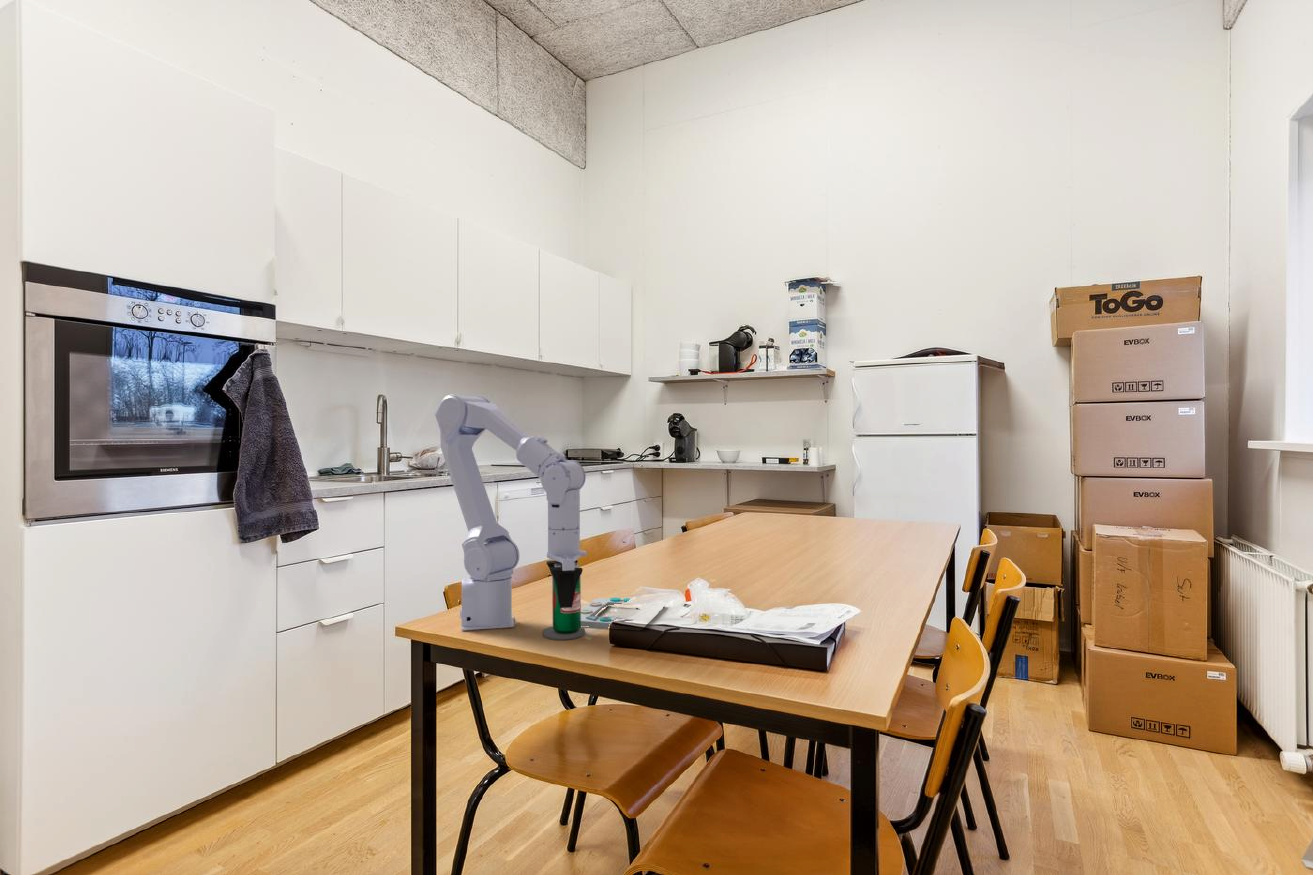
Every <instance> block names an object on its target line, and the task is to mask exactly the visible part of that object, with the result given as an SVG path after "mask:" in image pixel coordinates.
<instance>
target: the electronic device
mask: <svg viewBox="0 0 1313 875" xmlns="http://www.w3.org/2000/svg"><path fill="white" fill-rule="evenodd" d="M630 599H632V598H630V597H629V598H620V597H611V598H605V597H596V598H594V599H593V600H591V601H590V602H589V603H587V604H586V605H585V606H583V607H581V626H589V627H596V628H595V629H607V630H609V629H608V627H609V624H610V623H611V622H612V621H614V620H616V619H623V618H621V617H618V616H617V617H615V618H613V617H611V616H600V617H599V615H598V616H595V615H596V614H597V613H598V612H599V611H600V610H601V609H602V608H604V607H606V606H608V605H614V604H622V603H625V602H627V601H629V600H630ZM589 627H588V628H589Z"/></svg>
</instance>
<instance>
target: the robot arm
mask: <svg viewBox="0 0 1313 875" xmlns="http://www.w3.org/2000/svg"><path fill="white" fill-rule="evenodd" d="M434 415H435V419H436V422H437V425H438V427H439V431H440V432H439V433H440V434H439V435H440V438H439V439H440V449H441V454H442V455H443V456H442V457H443V459H444V462H445V465H446V468H447V471H448V474H449V476H450V480H451V483H452V485H453V488H454V492H455V495H456V497H457V500H458V504H459V507H460V510H461V513H462V516H463V519H464V522H465V526H466V528H467V531H468V533H467V535H466V536H465V538H464V539H463V541H462V543H461V547H462V549H463V564H464V565H463V566H464V569H465V571H466V572H467V574H468V575H469V578H462V579H461V608H460V609H459V618H460V619H461V631H474V630H488V629H489V630H490V629H502V628H503V629H504V628H505V629H507V628H514V627H515V620H514V614H513V613H512V611H513V610H512V608H513V607H512V603H513V602H512V599H513V598H512V595H513V594H512V592H513V590H512V589H513V588H512V586H513V585H512V583H513V582H512V576H513V575H514V570H515V568H516V567H517V566H518V564H519V561H520V550H519V547H518V545H517V544H516V543H515V542H514V540H513V539H512V538H511V536H510V533H509V531H508V529H506V528H505V527H504V526H502V525H501V524H499V523H498V522H497V520H496V517H495V514H494V511H493V507H492V505H491V501H490V497H489V495H488V493H487V490H486V489H487V488H486V487H485V484H484V480H483V476H482V475H481V472H480V469H479V466H478V463H477V460H476V457H475V454H474V451H473V446H474V445H475V443H476V442H477V440H479V438H480V437H481V436H482V435H483V434H484V433H485V431H486V430H487V431H489V432H490V433H491V434H493V435H494V436H495V437H497V438H499V440H501V441H502V442H504V443H505V444H506V445H507V446H509V447H511V448H512V449H513V450H515V451H516V452H515V453H516V456H515V457H516V460H517V461H518V462H519V463H521V464H522V465H523V466H524V467H525V468H526V469H528V471H530V472H532V474H534V475H535V476H536V477H537V478H539V479H540V482H541V487H542V488H543V490H544V492H545V494H546V501H547V552H546V557H547V559H550V560H547V561H546V565H547V567H548V568H549V571H550V575H551V576H552V575H553V578H554V581H555V584H556V589H557V596H558V602H559V606H560V608H568V607H572V605H573V600H574V595H575V590H576V586H577V582H578V580H579V577H580V575H581V576H582V574H583V570H584V569H583V568H582V567H579V568H574V562H575V563H578V561H579V560H578V559H580V558H581V557H586V556H587V551H586V550H581V545H580V544H581V541H580V540H581V536H580V533H581V524H580V522H581V521H580V518H581V516H580V515H581V514H580V513H581V512H580V510H581V507H580V506H581V502H580V501H581V500H580V499H581V493H580V492H581V489H582V488H583V487H584V485H585V482H586V478H587V477H586V475H587V474H586V471H585V468H584V467H583V466H582V464H581V463H580V462H579V461H578V460H574V459H570V460H567V459H566V455H565V454H564V453H562V452H558V451H557V450H556V449H554V448H553V447H552V446H550V445H549V444H548V439H547V438H545V437H544V436H538V435H533V436H528V435H527V434H526V433H525V432H524V431H523V430H521V428H519V426H517V425H516V424H515V423H514V422H513V421H512V420H510V418H508V417H507V415H505V414H504V413H503V412H502V411H500V409H499V406H498V405H497V404H495V403H493V402H491V400H490V399H489V398H486V397H484V396H477V397H476V396H466V395H465V396H463V395H456V394H448V395H446V396H445V397H443V398H442V400H441V401H440V403H439V405H438V407H437V410H436V411H435V413H434ZM556 563H562V564H561V567H555V566H554V564H556ZM578 564H579V563H578Z"/></svg>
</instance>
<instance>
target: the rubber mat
mask: <svg viewBox="0 0 1313 875" xmlns="http://www.w3.org/2000/svg"><path fill="white" fill-rule="evenodd" d="M585 634H586V630H585V627H581V628H580V629H579V630H578V631H577V632H575V633H570V634H561V633H557V632H555V631H554V629H553V625H552V626H549V627H546V628H544V629H543V631H542V636H543V638H545V639H547V640H553V641H569V640H575V639H579V638H583V636H584V635H585Z"/></svg>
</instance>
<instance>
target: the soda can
mask: <svg viewBox="0 0 1313 875" xmlns="http://www.w3.org/2000/svg"><path fill="white" fill-rule="evenodd" d="M561 564H562V563H556V564H554V566H555V567H561ZM574 568H580V566H579V563H575V562H574ZM581 576H582V574H581V575H580V577H579V580H578V582H577V586H576V590H575V595H574V600H573V605H572V607H568V608H560V606H559V602H558V596H557V589H556V584H555V581H554V578H553V575H551V579H552V580H551V586H552V591H551V593H552V596H551V598H552V599H551V600H552V601H551V602H552V604H551V605H552V609H551V611H552V626H553V629H554V631H555V632H557V633H561V634H570V633H575V632H577V631H578V630H579V629H580V628H581V608H582V603H581V602H582V601H581V600H582V599H581V598H582V597H581V596H582V595H581V594H582V592H581V591H582V590H581V589H582V588H581V587H582V586H581V584H582V583H581Z"/></svg>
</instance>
